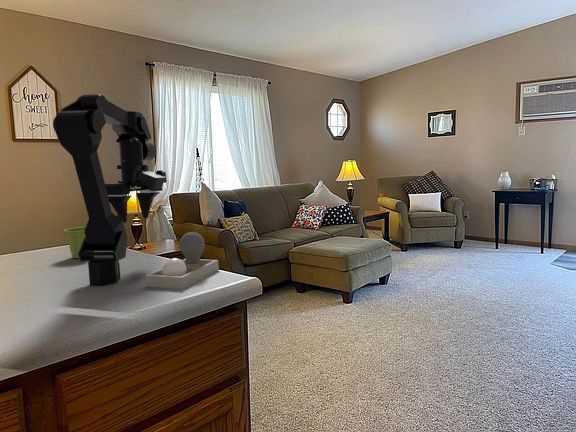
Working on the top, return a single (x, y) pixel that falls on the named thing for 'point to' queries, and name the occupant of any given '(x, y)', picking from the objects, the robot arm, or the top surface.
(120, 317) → the top surface
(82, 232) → the plant pot
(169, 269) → the ceramic egg
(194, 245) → the light bulb
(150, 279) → the tray
